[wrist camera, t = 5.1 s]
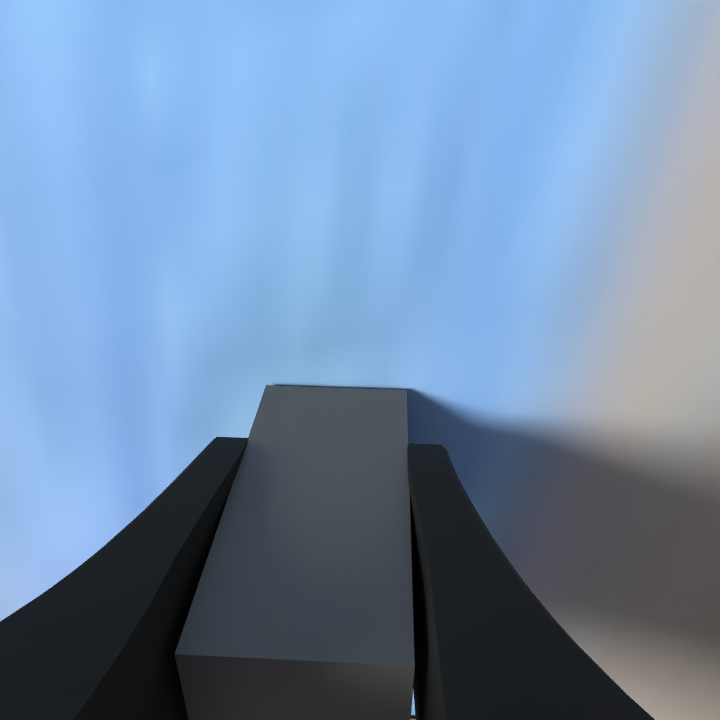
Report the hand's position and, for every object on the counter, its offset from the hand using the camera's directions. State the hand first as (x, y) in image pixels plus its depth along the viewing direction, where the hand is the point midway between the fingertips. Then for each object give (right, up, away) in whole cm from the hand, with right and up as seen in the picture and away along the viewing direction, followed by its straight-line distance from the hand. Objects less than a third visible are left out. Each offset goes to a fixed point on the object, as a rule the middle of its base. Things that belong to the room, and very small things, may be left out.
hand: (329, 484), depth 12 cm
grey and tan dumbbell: (0, -5, +5) cm, 7 cm away
